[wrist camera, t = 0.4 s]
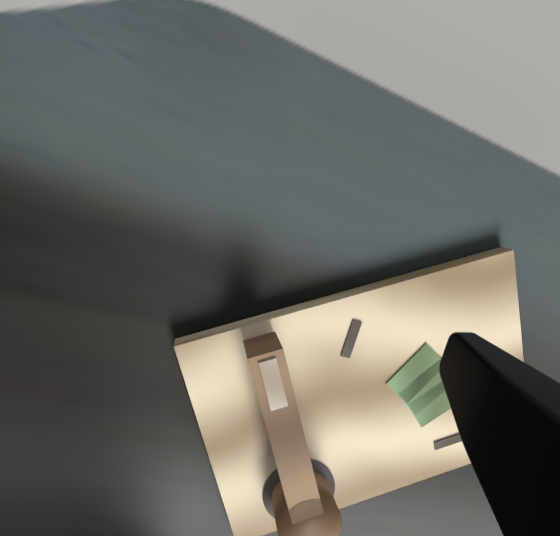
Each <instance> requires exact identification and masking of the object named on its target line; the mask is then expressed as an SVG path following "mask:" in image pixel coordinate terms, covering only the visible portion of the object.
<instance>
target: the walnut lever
mask: <svg viewBox="0 0 560 536" xmlns="http://www.w3.org/2000/svg"><path fill="white" fill-rule="evenodd" d="M243 343H244V347H245V351H246V355H247V359H248V363H249V366H250V370H251V374H252V377H253V381H254V385H255V389H256V392H257V396H258V400H259V403H260V407H261V411H262V414H263V418H264V422H265V425H266V429H267V433H268V436H269V440H270V444H271V447H272V451H273V455H274V458H275V462H276V466H277V469H278V473H279V477H280V481H279V482H278V483H277V485H276V486H275V488H274V490H273V492H272V496H271V504H272V508H273V513H274V518H275V522H276V527H277V532H278V536H338V535H339V533H340V530H341V526H342V518H341V514H340V511H339V509H338V507H337V504H336V502H335V499H334V497H333V494H332V492H331V490H330V487H329V485H328V482H327V481H326V479H325V478H324V477H323V476H322V475H321V474H319V473H317V472H315V471H313V467H312V463H311V459H310V455H309V451H308V447H307V443H306V439H305V435H304V431H303V427H302V423H301V419H300V415H299V411H298V407H297V403H296V399H295V395H294V390H293V386H292V382H291V378H290V374H289V370H288V366H287V362H286V358H285V354H284V350H283V347H282V345H281V343H280V341H279V339H278V337H277V334H276V332H275V331H274V332H270V333H267V334H264V335H260V336H257V337H253V338H250V339H246V340H243Z"/></svg>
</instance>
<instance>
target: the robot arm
mask: <svg viewBox="0 0 560 536" xmlns="http://www.w3.org/2000/svg"><path fill="white" fill-rule="evenodd" d="M439 372H440V377H441V380H442V383H443V386H444V389H445V392H446V395H447V398H448V401H449V404H450V407H451V410H452V413H453V416H454V419H455V422H456V425H457V428H458V432H459V434H460V437H461V440H462V443H463V445H464V448H465V450H466V452H467V455H468V457H469V459H470V462H471V464H472V466H473V468H474V471H475V473H476V475H477V477H478V480H479V482H480V484H481V486H482V488H483V491H484V493H485V495H486V497H487V500H488V502H489V504H490V506H491V509H492V511H493V513H494V515H495V517H496V520H497V522H498V524H499V526H500V529H501V531H502V533H503V535H504V536H560V383H559V382H557V381H555V380H553V379H552V378H550V377H548V376H547V375H545V374H543V373H542V372H540V371H538V370H536V369H535V368H533V367H531V366H530V365H528V364H526V363H525V362H523V361H521V360H519V359H518V358H516V357H514V356H513V355H511V354H509V353H507V352H506V351H504V350H502V349H501V348H499V347H497V346H496V345H494V344H492V343H490V342H489V341H487V340H485V339H484V338H482V337H480V336H479V335H477V334H475V333H472V332H454V333H452V334H451V335H450V336H449V338H448V341H447V344H446V347H445V349H444V352H443V355H442V358H441V361H440V365H439Z"/></svg>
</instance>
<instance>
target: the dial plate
mask: <svg viewBox="0 0 560 536" xmlns="http://www.w3.org/2000/svg"><path fill="white" fill-rule="evenodd" d="M274 331H275V332H276V334H277V337H278V339H279V341H280V343H281V345H282V347H283V350H284V354H285V358H286V362H287V366H288V370H289V374H290V378H291V382H292V386H293V390H294V395H295V399H296V403H297V407H298V411H299V415H300V419H301V423H302V427H303V431H304V435H305V439H306V443H307V447H308V451H309V455H310V459H311V463H312V467H313V471H315V472H317V473H319V474H321V475H322V476H323V477H324V478H325V479H326V481H327V482H328V485H329V487H330V490H331V492H332V494H333V497H334V499H335V502H336V504H337V507H338V509H340V508H343V507H346V506H349V505H352V504H355V503H358V502H360V501H363V500H366V499H369V498H372V497H375V496H378V495H381V494H384V493H386V492H389V491H392V490H395V489H398V488H401V487H404V486H407V485H410V484H412V483H415V482H418V481H421V480H424V479H427V478H430V477H433V476H436V475H438V474H441V473H444V472H447V471H450V470H453V469H456V468H459V467H462V466H464V465H467V464H470V463H471V462H470V459H469V457H468V455H467V452H466V450H465V448H464V445H463V443H462V440H461V437H460V434H459V432H458V428H457V425H456V422H455V419H454V416H453V413H452V410H451V407H450V404H449V401H448V398H447V395H446V392H445V389H444V386H443V383H442V380H441V377H440V372H439V365H440V361H441V358H442V355H443V352H444V349H445V347H446V344H447V341H448V338H449V336H450V335H451V334H452V333H454V332H472V333H475V334H477V335H479V336H480V337H482V338H484V339H485V340H487V341H489V342H490V343H492V344H494V345H496V346H497V347H499V348H501V349H502V350H504V351H506V352H507V353H509V354H511V355H513V356H514V357H516V358H518V359H519V360H521V361H523V362H524V360H523V349H522V338H521V326H520V315H519V304H518V293H517V282H516V271H515V260H514V250H511V249H507V248H504V247H498V248H495V249H491V250H488V251H484V252H481V253H477V254H474V255H470V256H467V257H463V258H459V259H456V260H452V261H449V262H445V263H442V264H438V265H435V266H431V267H428V268H424V269H421V270H417V271H413V272H410V273H406V274H403V275H399V276H396V277H392V278H389V279H385V280H382V281H378V282H374V283H371V284H367V285H364V286H360V287H357V288H353V289H350V290H346V291H343V292H339V293H335V294H332V295H328V296H325V297H321V298H318V299H314V300H311V301H307V302H304V303H300V304H296V305H293V306H289V307H286V308H282V309H279V310H275V311H272V312H268V313H265V314H261V315H258V316H254V317H250V318H247V319H243V320H240V321H236V322H233V323H229V324H226V325H222V326H219V327H215V328H211V329H208V330H204V331H201V332H197V333H194V334H190V335H187V336H183V337H180V338H176V339H175V342H174V349H175V352H176V355H177V358H178V361H179V365H180V368H181V371H182V374H183V377H184V380H185V383H186V387H187V390H188V393H189V396H190V399H191V402H192V405H193V409H194V412H195V415H196V418H197V421H198V424H199V427H200V431H201V434H202V437H203V440H204V443H205V446H206V449H207V453H208V456H209V459H210V462H211V465H212V468H213V471H214V475H215V478H216V481H217V484H218V487H219V490H220V493H221V497H222V500H223V503H224V506H225V509H226V512H227V515H228V519H229V522H230V525H231V528H232V531H233V534H234V536H262V535H265V534H268V533H271V532H274V531H277V527H276V522H275V518H274V513H273V508H272V504H271V496H272V492H273V490H274V488H275V486H276V485H277V483H278V482H279V481H280V477H279V473H278V469H277V466H276V462H275V458H274V455H273V451H272V447H271V444H270V440H269V436H268V433H267V429H266V425H265V422H264V418H263V414H262V411H261V407H260V403H259V400H258V396H257V392H256V389H255V385H254V381H253V377H252V374H251V370H250V366H249V363H248V359H247V355H246V351H245V347H244V343H243V340H246V339H250V338H253V337H257V336H260V335H264V334H267V333H270V332H274Z"/></svg>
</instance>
